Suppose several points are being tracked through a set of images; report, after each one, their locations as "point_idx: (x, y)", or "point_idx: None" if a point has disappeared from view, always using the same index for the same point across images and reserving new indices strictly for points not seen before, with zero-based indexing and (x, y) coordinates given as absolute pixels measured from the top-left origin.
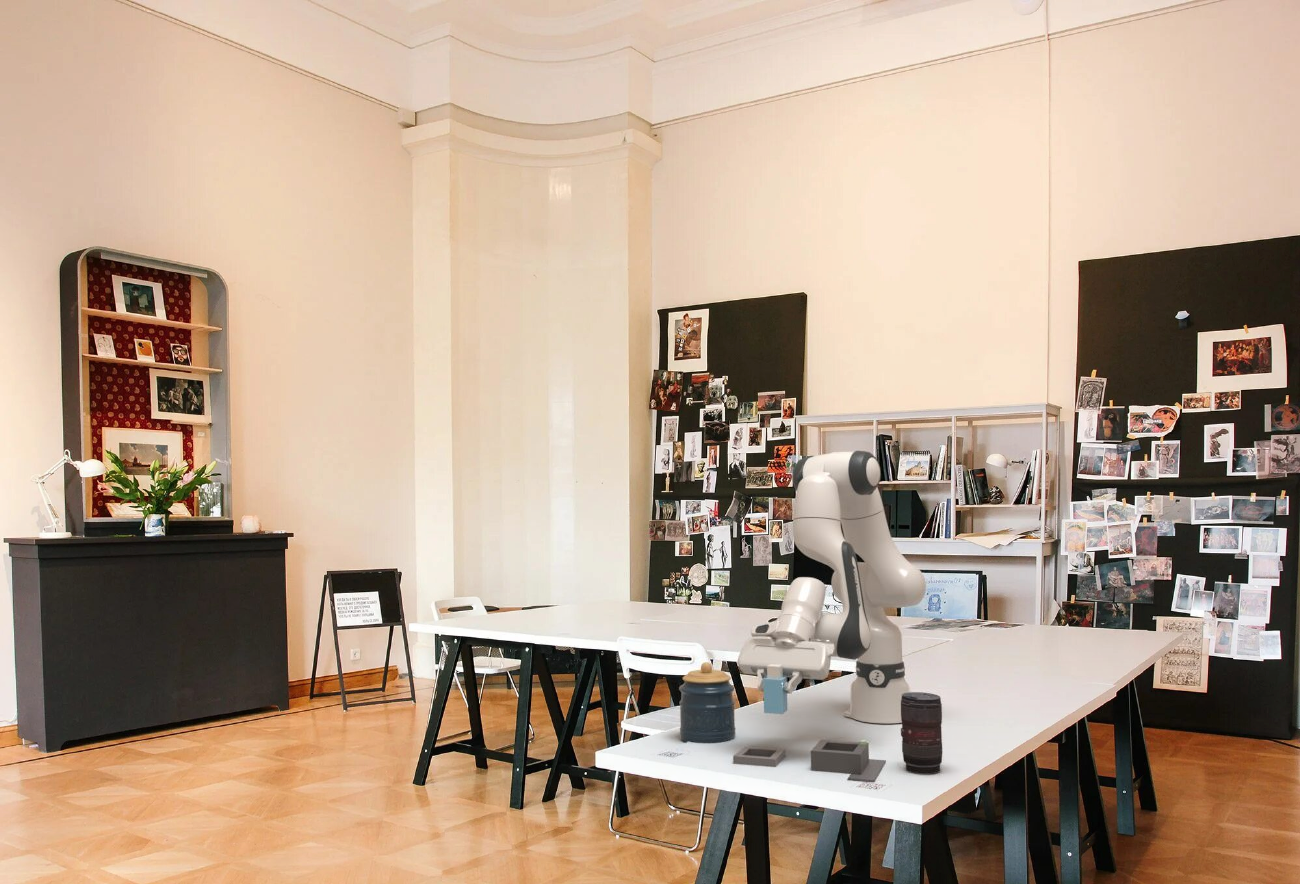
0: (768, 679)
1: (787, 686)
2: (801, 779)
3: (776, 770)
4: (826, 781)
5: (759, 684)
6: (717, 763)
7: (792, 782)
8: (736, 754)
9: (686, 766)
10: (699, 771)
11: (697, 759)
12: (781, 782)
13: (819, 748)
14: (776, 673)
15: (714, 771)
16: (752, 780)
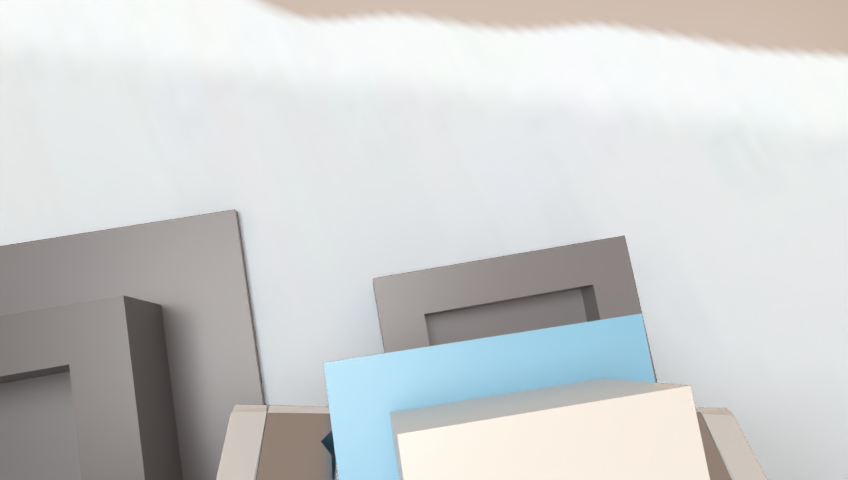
0: (554, 328)
1: (268, 433)
2: (170, 164)
3: (361, 269)
4: (33, 186)
5: (718, 428)
6: (705, 255)
7: (194, 92)
8: (627, 280)
9: (808, 129)
10: (701, 74)
11: (840, 282)
12: (245, 68)
13: (88, 385)
14: (449, 410)
15: (637, 106)
16: (392, 40)
